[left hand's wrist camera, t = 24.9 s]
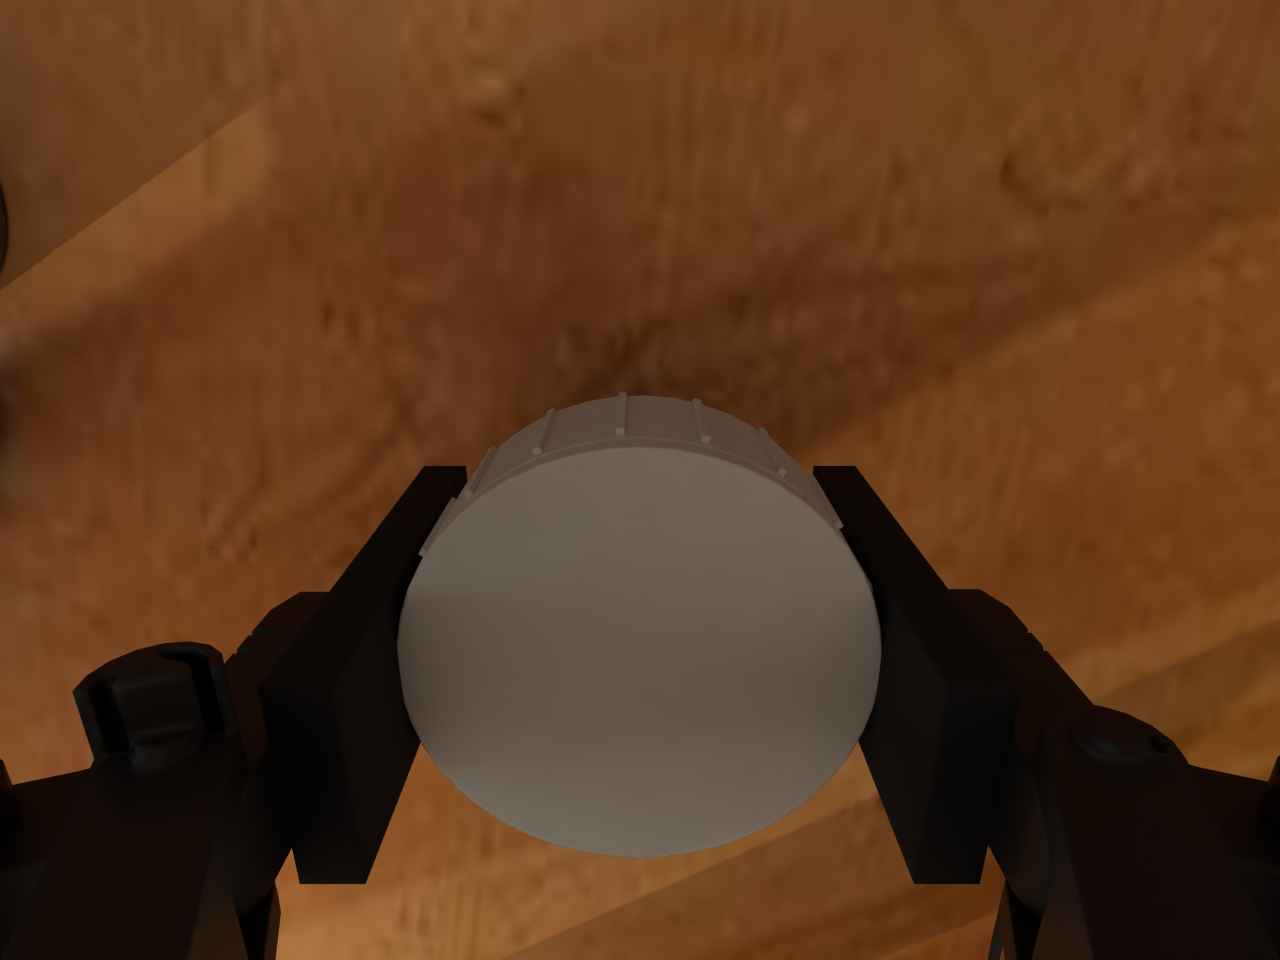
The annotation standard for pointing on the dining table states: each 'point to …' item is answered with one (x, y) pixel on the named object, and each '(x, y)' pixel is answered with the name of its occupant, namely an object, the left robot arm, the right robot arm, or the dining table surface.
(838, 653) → the lid
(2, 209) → the dark grey thermos bottle
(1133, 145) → the dining table surface
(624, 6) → the dining table surface
